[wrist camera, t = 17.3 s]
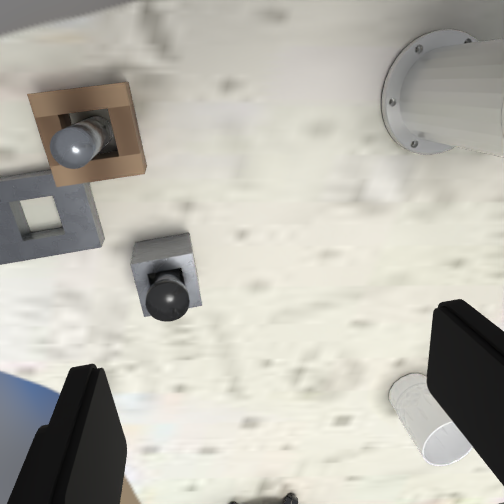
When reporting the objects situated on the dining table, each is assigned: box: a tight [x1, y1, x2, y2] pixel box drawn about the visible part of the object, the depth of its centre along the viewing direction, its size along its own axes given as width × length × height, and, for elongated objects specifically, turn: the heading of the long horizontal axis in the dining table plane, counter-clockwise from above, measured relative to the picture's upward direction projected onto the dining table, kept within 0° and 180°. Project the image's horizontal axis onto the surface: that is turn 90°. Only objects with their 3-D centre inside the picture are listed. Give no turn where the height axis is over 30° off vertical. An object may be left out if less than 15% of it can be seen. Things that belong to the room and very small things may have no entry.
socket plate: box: [0, 170, 105, 265], centre depth 40 cm, size 10×8×2 cm
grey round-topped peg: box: [50, 116, 113, 169], centre depth 34 cm, size 3×3×12 cm
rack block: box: [27, 82, 147, 187], centre depth 38 cm, size 8×8×4 cm
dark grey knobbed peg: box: [146, 268, 190, 321], centre depth 42 cm, size 4×4×9 cm
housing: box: [131, 233, 202, 317], centre depth 43 cm, size 6×6×6 cm
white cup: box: [389, 373, 473, 466], centre depth 57 cm, size 8×8×10 cm
